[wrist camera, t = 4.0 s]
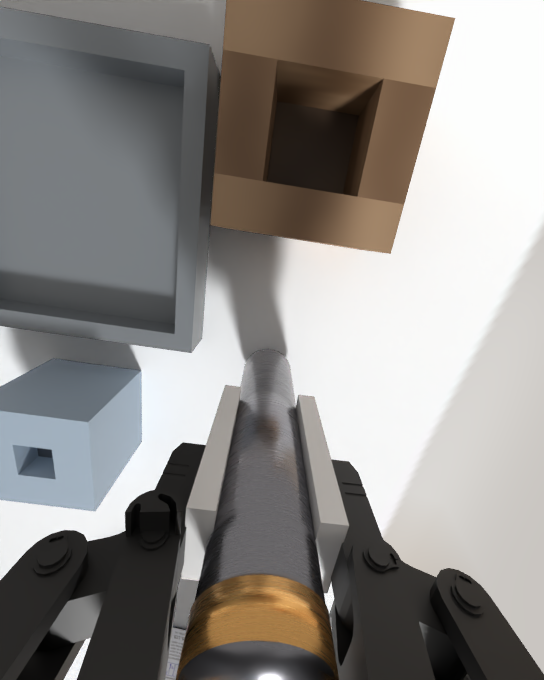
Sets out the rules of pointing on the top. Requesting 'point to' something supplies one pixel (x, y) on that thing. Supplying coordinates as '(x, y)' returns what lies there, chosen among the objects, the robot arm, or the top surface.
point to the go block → (323, 117)
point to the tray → (105, 180)
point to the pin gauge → (261, 550)
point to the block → (68, 432)
